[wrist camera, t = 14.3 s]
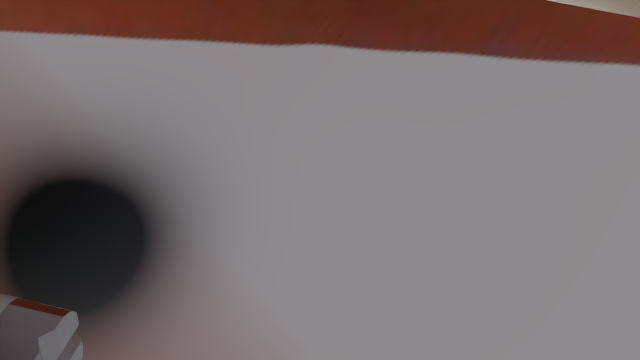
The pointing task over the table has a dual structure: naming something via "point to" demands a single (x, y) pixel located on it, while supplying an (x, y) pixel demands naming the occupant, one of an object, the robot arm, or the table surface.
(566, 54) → the table surface
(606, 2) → the birch lid
